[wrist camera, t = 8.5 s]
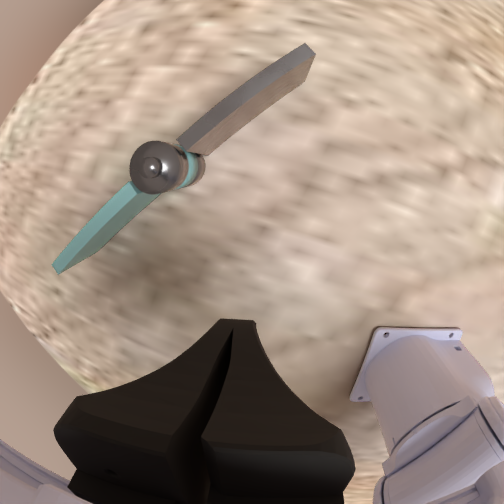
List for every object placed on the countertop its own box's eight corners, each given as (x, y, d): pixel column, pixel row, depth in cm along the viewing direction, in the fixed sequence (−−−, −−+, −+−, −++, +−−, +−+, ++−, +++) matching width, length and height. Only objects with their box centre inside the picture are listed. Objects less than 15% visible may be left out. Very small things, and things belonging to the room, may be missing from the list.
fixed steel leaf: (184, 194, 19) (146, 207, 13) (160, 165, 18) (114, 167, 12) (313, 91, 16) (332, 58, 10) (287, 63, 16) (294, 20, 10)
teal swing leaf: (189, 139, 17) (161, 130, 12) (212, 170, 18) (191, 171, 13) (85, 234, 20) (44, 253, 15) (103, 261, 20) (66, 285, 15)
